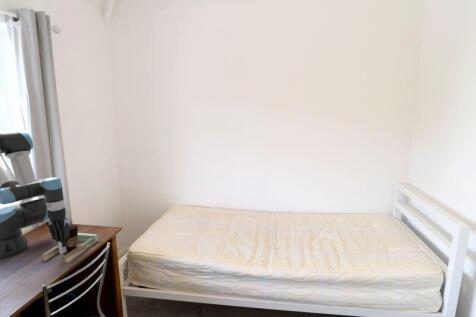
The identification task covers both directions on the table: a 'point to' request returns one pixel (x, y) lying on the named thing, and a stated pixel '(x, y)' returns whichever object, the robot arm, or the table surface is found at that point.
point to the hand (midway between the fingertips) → (63, 252)
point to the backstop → (86, 237)
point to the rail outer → (79, 250)
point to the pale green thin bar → (50, 253)
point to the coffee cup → (72, 239)
